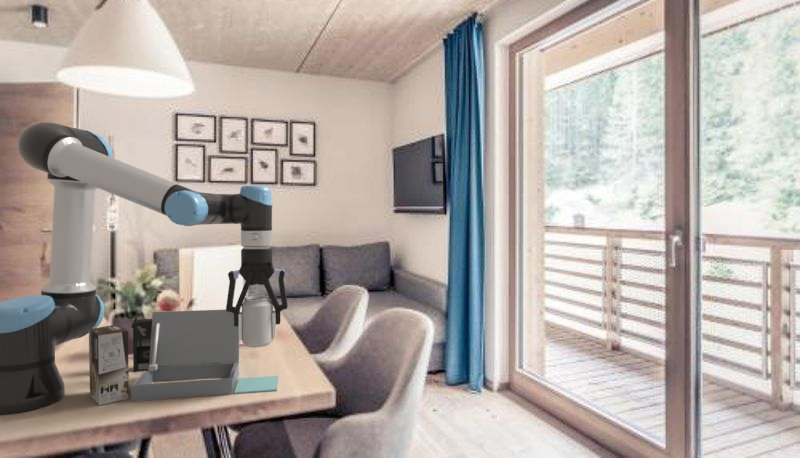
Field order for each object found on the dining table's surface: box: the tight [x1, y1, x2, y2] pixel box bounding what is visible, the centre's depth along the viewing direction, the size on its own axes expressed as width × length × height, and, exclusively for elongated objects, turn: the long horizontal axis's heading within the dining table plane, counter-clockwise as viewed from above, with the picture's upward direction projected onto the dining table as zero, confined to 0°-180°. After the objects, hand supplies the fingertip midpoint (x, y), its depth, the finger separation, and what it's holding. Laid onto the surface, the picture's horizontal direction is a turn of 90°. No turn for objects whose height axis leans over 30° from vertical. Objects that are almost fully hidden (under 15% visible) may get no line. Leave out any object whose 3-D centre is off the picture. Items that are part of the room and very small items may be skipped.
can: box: [241, 295, 274, 348], centre depth 120 cm, size 8×8×12 cm
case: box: [131, 309, 240, 402], centre depth 120 cm, size 22×18×17 cm
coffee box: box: [88, 324, 130, 406], centre depth 112 cm, size 9×6×16 cm
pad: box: [233, 375, 279, 395], centre depth 120 cm, size 10×10×1 cm
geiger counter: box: [131, 314, 159, 373], centre depth 133 cm, size 10×4×15 cm, turn 110°
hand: (257, 337), depth 120 cm, fingers closed on can, 7 cm apart
